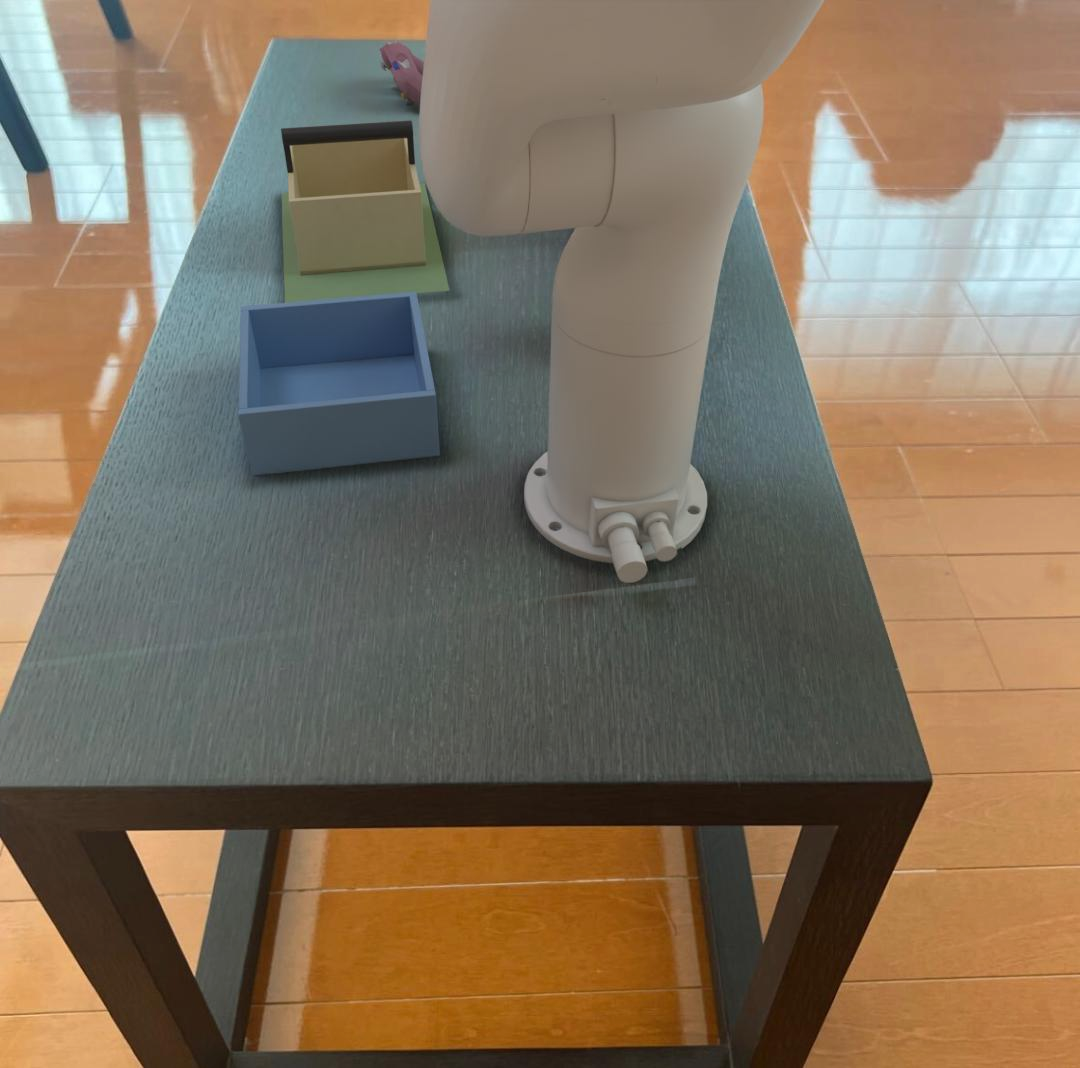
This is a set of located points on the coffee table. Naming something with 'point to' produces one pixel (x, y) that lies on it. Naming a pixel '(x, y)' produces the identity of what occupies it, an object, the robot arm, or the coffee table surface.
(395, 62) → the pink curved piece
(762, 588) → the coffee table surface
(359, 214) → the cream bin
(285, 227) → the mat
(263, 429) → the blue bin
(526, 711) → the coffee table surface
